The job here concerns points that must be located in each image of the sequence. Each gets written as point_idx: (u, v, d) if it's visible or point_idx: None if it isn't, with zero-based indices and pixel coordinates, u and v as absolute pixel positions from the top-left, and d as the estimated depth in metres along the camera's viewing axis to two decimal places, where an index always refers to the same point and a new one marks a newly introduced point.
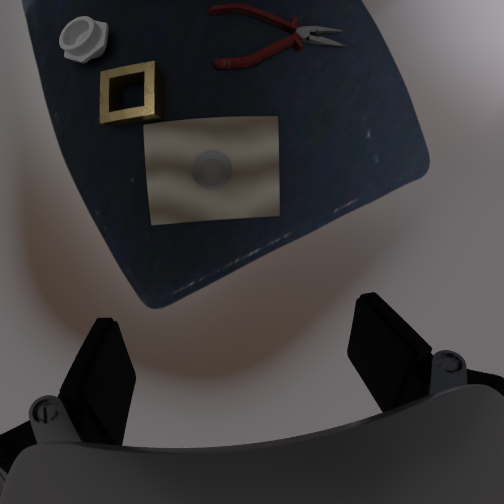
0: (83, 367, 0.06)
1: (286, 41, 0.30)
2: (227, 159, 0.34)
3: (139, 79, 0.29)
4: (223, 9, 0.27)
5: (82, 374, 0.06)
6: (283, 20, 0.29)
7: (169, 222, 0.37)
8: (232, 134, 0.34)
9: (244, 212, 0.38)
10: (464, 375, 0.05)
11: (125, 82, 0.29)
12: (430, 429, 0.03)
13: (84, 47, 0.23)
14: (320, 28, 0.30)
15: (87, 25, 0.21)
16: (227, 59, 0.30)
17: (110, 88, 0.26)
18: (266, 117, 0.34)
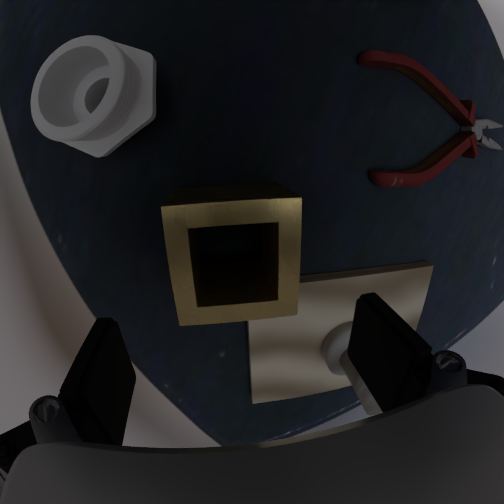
0: (83, 367, 0.06)
1: (464, 147, 0.18)
2: None
3: None
4: (390, 63, 0.15)
5: (82, 374, 0.06)
6: (462, 107, 0.17)
7: (277, 399, 0.26)
8: None
9: None
10: (464, 375, 0.05)
11: None
12: (430, 429, 0.03)
13: (103, 128, 0.11)
14: (490, 124, 0.18)
15: (101, 57, 0.10)
16: (400, 176, 0.18)
17: (190, 249, 0.15)
18: (421, 269, 0.23)
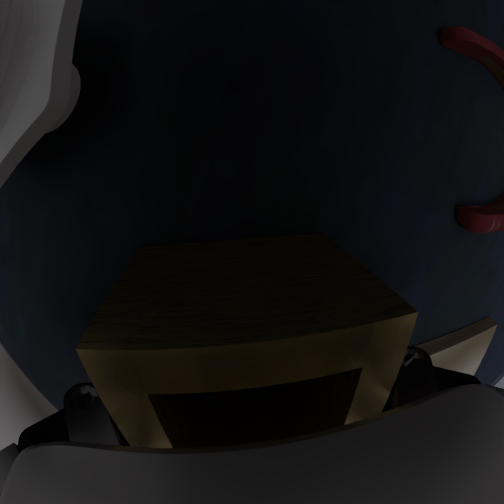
0: None
1: None
2: None
3: None
4: (483, 50, 0.07)
5: None
6: None
7: None
8: None
9: None
10: (431, 370, 0.06)
11: None
12: (430, 429, 0.03)
13: None
14: None
15: None
16: (498, 219, 0.10)
17: (164, 411, 0.06)
18: (486, 331, 0.14)
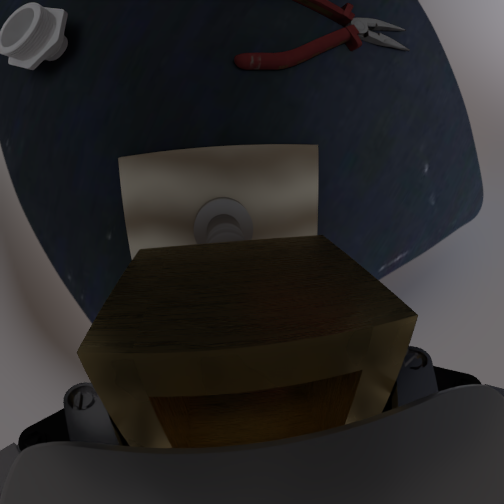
0: None
1: (340, 35, 0.19)
2: (246, 214, 0.23)
3: None
4: None
5: None
6: (334, 6, 0.18)
7: None
8: (252, 172, 0.24)
9: None
10: (431, 370, 0.06)
11: None
12: (430, 429, 0.03)
13: (30, 47, 0.12)
14: (380, 23, 0.19)
15: None
16: (257, 55, 0.20)
17: (165, 413, 0.06)
18: (301, 146, 0.24)
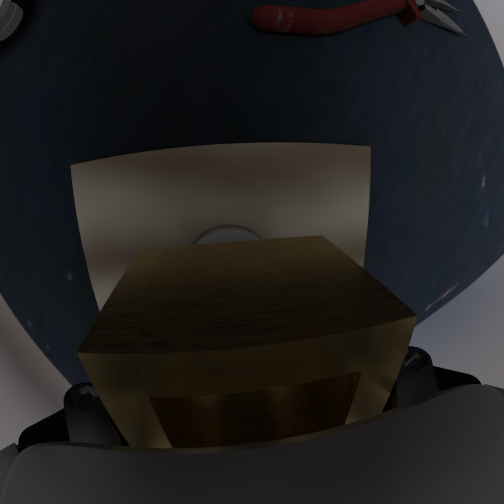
0: None
1: (395, 1, 0.11)
2: None
3: None
4: None
5: None
6: None
7: None
8: (274, 185, 0.15)
9: None
10: (431, 370, 0.06)
11: None
12: (430, 429, 0.03)
13: None
14: None
15: None
16: (287, 9, 0.11)
17: (165, 414, 0.06)
18: (348, 148, 0.15)
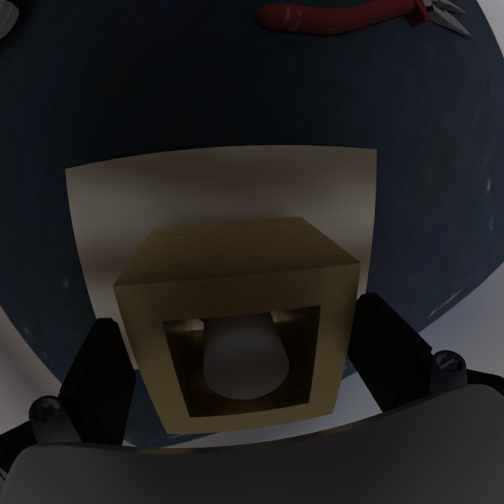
0: (83, 367, 0.06)
1: (404, 2, 0.10)
2: None
3: None
4: None
5: (81, 374, 0.06)
6: None
7: None
8: (277, 190, 0.15)
9: None
10: (464, 375, 0.05)
11: None
12: (430, 429, 0.03)
13: None
14: None
15: None
16: (295, 7, 0.10)
17: (172, 345, 0.08)
18: (353, 151, 0.14)
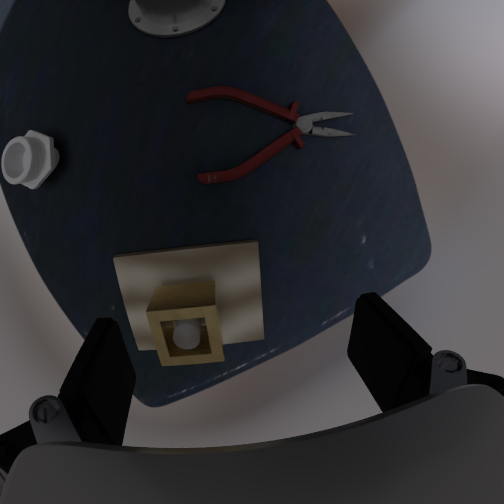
0: (83, 367, 0.06)
1: (284, 141, 0.29)
2: None
3: None
4: (204, 97, 0.27)
5: (81, 374, 0.06)
6: (280, 109, 0.28)
7: (155, 348, 0.36)
8: (208, 266, 0.33)
9: (228, 339, 0.37)
10: (464, 375, 0.05)
11: None
12: (430, 429, 0.03)
13: (30, 177, 0.22)
14: (326, 115, 0.29)
15: None
16: (212, 174, 0.30)
17: (163, 329, 0.27)
18: (244, 244, 0.33)
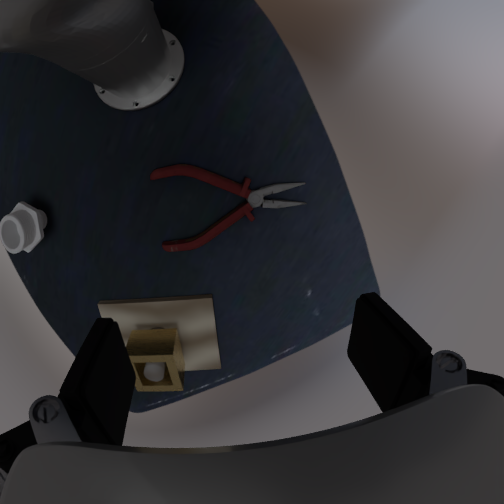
0: (83, 367, 0.06)
1: (235, 217, 0.35)
2: None
3: None
4: (166, 176, 0.33)
5: (81, 375, 0.06)
6: (233, 187, 0.34)
7: None
8: (172, 315, 0.40)
9: (191, 367, 0.44)
10: (464, 375, 0.05)
11: None
12: (430, 429, 0.03)
13: (25, 246, 0.28)
14: (277, 189, 0.35)
15: None
16: (174, 246, 0.35)
17: (136, 366, 0.33)
18: (201, 300, 0.39)
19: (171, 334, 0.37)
